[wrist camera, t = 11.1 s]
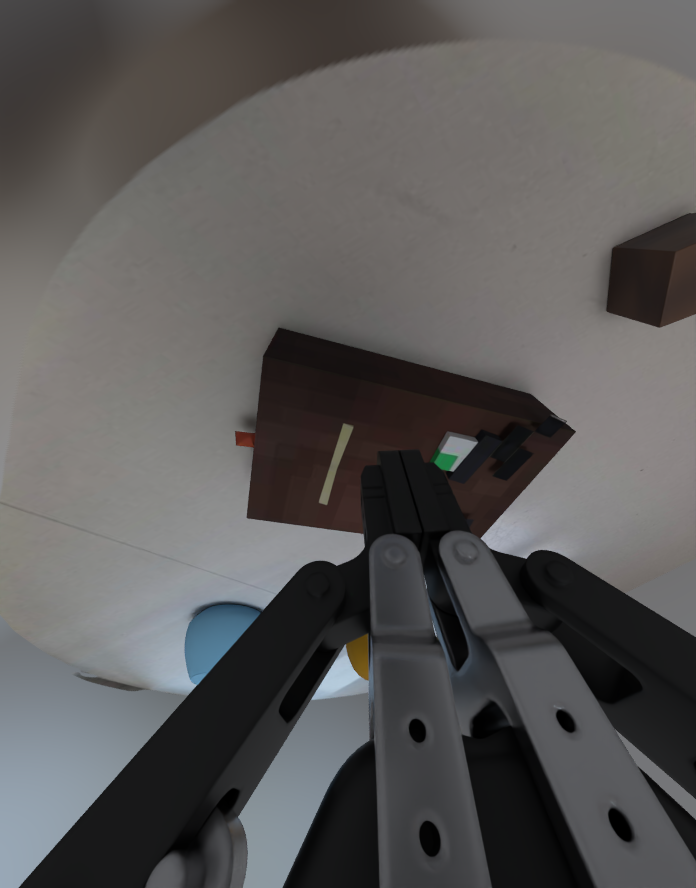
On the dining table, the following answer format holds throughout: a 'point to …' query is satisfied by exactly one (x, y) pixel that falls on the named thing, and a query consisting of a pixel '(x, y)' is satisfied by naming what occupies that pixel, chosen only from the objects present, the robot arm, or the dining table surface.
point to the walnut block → (656, 274)
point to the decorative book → (385, 433)
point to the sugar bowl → (214, 636)
